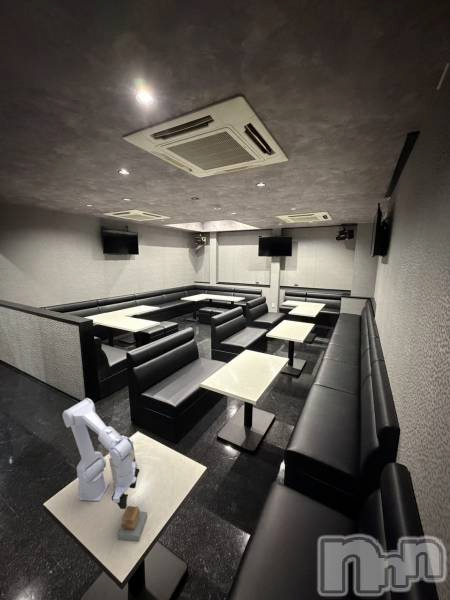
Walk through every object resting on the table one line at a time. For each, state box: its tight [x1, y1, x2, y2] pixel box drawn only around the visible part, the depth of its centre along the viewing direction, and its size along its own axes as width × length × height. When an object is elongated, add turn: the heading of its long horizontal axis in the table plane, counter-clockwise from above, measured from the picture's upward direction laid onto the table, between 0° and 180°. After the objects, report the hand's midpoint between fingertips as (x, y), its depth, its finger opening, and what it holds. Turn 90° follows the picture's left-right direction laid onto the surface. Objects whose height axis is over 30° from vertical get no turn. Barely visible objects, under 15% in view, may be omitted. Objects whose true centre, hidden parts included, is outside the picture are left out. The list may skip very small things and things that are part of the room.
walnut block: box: [121, 505, 140, 530], centre depth 90 cm, size 4×4×5 cm
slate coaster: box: [116, 510, 148, 542], centre depth 91 cm, size 8×8×3 cm
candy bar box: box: [108, 439, 138, 489], centre depth 109 cm, size 11×5×16 cm, turn 168°
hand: (128, 497), depth 92 cm, fingers open, 7 cm apart
